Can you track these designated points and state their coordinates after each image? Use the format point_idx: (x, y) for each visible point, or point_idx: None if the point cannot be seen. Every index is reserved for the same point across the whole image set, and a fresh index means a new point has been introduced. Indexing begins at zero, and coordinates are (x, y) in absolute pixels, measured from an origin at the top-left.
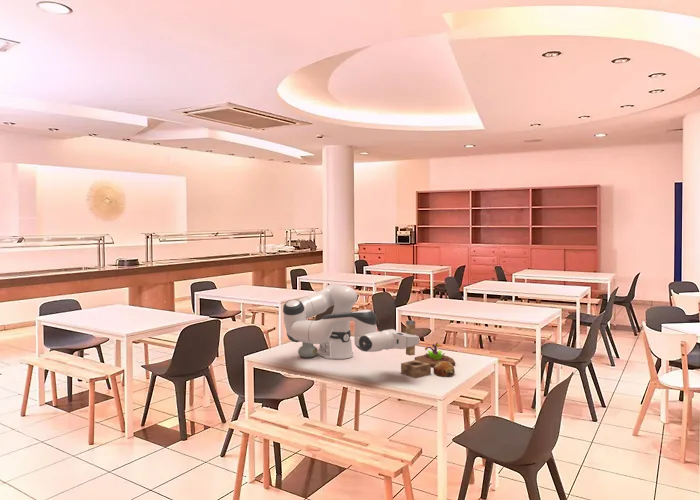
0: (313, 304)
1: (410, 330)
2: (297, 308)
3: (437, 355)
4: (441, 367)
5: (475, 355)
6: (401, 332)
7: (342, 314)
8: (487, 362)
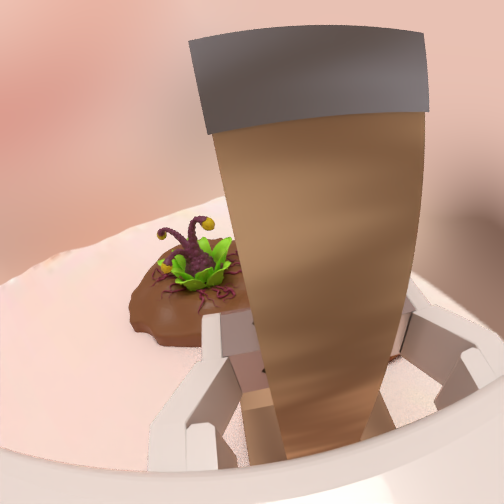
0: None
1: (410, 271)
2: None
3: (225, 264)
4: None
5: (220, 197)
6: (287, 501)
7: None
8: None
